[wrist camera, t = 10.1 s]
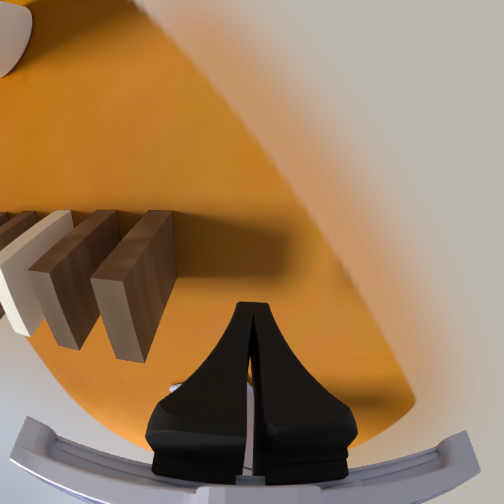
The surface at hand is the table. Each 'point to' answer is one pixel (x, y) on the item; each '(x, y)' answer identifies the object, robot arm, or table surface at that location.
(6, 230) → the domino
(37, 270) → the domino
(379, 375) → the table surface
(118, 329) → the domino
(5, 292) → the domino
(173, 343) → the table surface
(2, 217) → the domino
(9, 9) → the can
